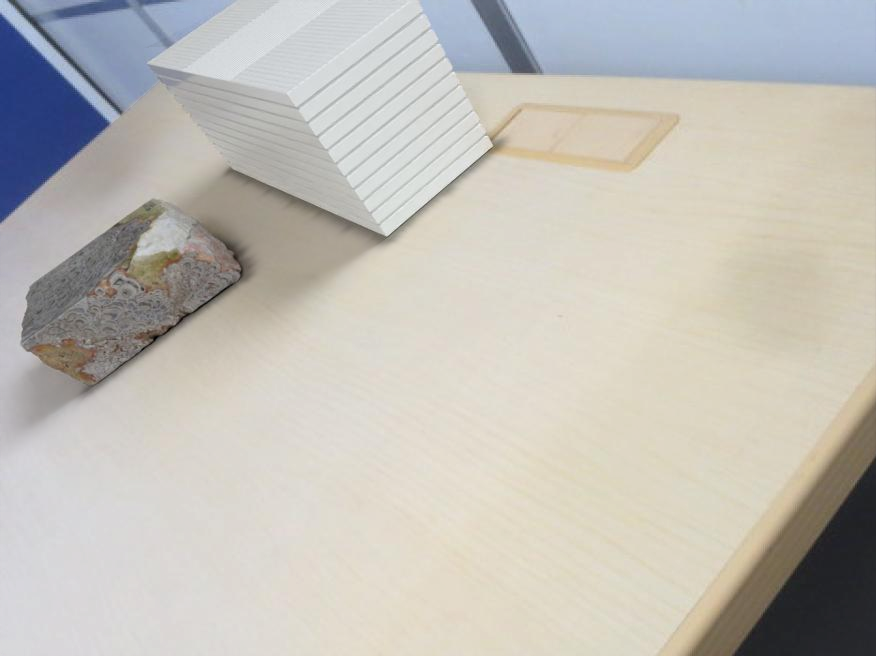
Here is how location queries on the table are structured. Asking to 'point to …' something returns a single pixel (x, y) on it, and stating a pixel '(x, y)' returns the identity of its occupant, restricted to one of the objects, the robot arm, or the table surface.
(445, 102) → the stack of papers
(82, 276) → the geological specimen
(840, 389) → the table surface
